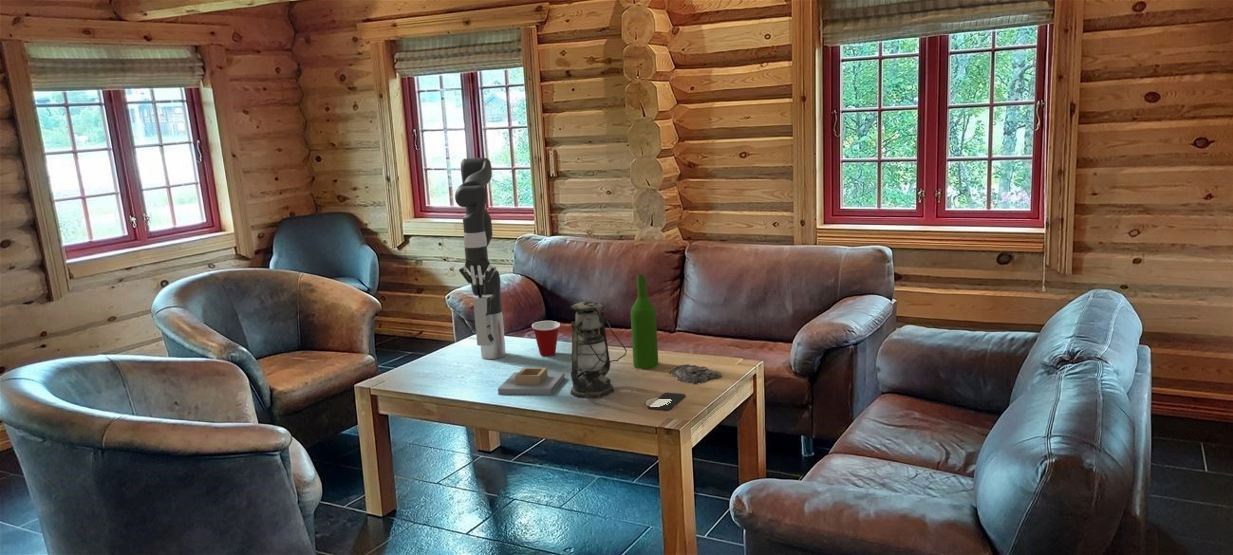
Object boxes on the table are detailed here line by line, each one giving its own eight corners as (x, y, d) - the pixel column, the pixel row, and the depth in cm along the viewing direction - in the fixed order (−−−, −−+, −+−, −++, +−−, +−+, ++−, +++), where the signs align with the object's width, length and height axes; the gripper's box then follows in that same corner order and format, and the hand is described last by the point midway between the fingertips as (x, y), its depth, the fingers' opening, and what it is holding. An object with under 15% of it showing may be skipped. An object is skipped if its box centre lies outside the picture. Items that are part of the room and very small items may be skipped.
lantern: (594, 380, 303) (588, 294, 297) (638, 388, 291) (633, 299, 285) (556, 395, 289) (550, 305, 283) (601, 405, 277) (595, 311, 271)
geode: (707, 387, 290) (727, 374, 302) (707, 376, 289) (726, 363, 301) (656, 381, 300) (677, 369, 312) (656, 370, 299) (677, 358, 311)
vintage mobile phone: (490, 345, 305) (484, 274, 300) (477, 345, 306) (470, 274, 301) (494, 342, 308) (488, 272, 303) (481, 342, 309) (474, 272, 305)
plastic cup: (540, 360, 331) (538, 329, 328) (529, 354, 340) (527, 323, 338) (567, 355, 335) (564, 324, 333) (555, 349, 345) (553, 319, 343)
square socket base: (514, 377, 311) (513, 363, 310) (564, 377, 307) (563, 364, 306) (498, 394, 293) (497, 379, 292) (551, 394, 290) (549, 380, 289)
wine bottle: (663, 364, 317) (659, 274, 311) (648, 370, 310) (643, 279, 304) (643, 360, 322) (639, 272, 316) (628, 366, 316) (623, 277, 310)
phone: (646, 407, 271) (664, 392, 284) (646, 410, 271) (664, 394, 284) (669, 409, 268) (686, 394, 281) (669, 412, 268) (686, 396, 281)
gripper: (498, 242, 303) (502, 292, 306) (460, 243, 305) (465, 293, 309) (490, 246, 296) (495, 297, 299) (452, 247, 298) (457, 297, 302)
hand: (480, 294), depth 304 cm, fingers closed on vintage mobile phone, 1 cm apart
